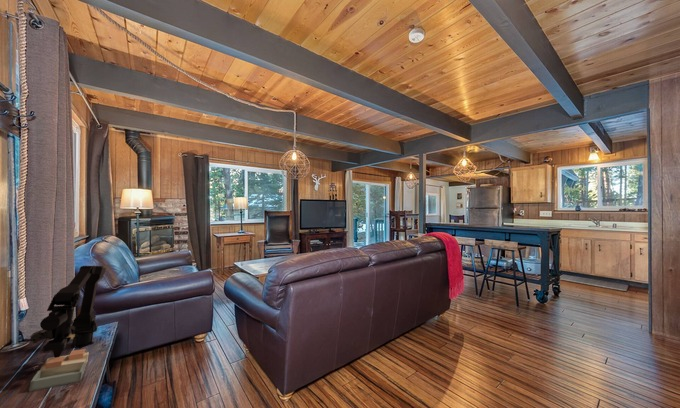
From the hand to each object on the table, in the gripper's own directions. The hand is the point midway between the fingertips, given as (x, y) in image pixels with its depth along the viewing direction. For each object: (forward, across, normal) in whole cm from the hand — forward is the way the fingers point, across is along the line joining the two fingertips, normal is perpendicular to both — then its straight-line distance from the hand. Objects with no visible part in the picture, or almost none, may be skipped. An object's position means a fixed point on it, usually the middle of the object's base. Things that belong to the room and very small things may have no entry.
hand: (56, 358), depth 112 cm
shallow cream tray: (+5, 0, +3) cm, 6 cm away
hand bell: (+5, -36, 0) cm, 36 cm away
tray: (+5, +9, +3) cm, 11 cm away
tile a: (+1, -1, +6) cm, 6 cm away
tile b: (+1, +3, 0) cm, 3 cm away
